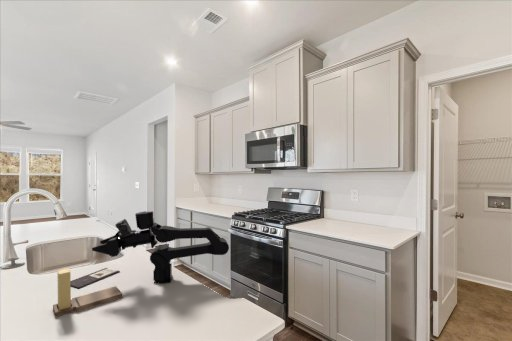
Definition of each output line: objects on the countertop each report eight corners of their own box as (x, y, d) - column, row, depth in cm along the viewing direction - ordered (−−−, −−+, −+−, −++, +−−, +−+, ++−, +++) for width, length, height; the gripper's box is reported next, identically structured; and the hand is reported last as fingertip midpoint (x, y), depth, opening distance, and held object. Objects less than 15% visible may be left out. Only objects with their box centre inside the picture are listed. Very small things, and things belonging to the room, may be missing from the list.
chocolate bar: (64, 283, 106) (106, 267, 123) (64, 285, 106) (106, 269, 123) (78, 287, 103) (119, 270, 119) (78, 289, 103) (119, 273, 119)
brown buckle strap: (116, 289, 102) (115, 285, 102) (122, 297, 96) (122, 292, 96) (52, 308, 88) (52, 303, 88) (55, 318, 83) (55, 313, 83)
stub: (68, 306, 90) (68, 268, 90) (70, 310, 87) (70, 271, 87) (57, 309, 88) (57, 270, 88) (59, 314, 85) (59, 274, 85)
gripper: (140, 214, 117) (101, 220, 113) (130, 223, 98) (84, 231, 95) (143, 239, 117) (105, 246, 113) (135, 253, 99) (88, 261, 95)
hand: (96, 245), depth 104 cm, fingers open, 9 cm apart
